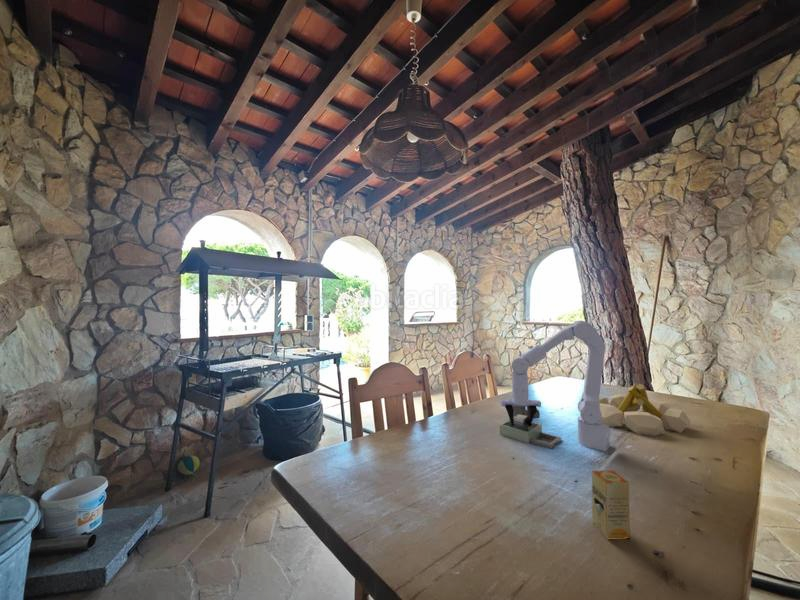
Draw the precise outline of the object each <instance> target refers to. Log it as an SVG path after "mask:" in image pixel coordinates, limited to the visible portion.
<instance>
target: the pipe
mask: <svg viewBox="0 0 800 600" xmlns="http://www.w3.org/2000/svg"><path fill="white" fill-rule="evenodd" d="M512 407H513V409H514V413H513V417H515V416H517V415H518V414H520V415H525V416H528V412H527V406H512ZM540 415H541V414H540V410H539V409H537V412H536V413H535V415H534V417H533V420H534V419H539V418H540V417H541V416H540Z"/></svg>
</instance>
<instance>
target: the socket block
mask: <svg viewBox="0 0 800 600" xmlns="http://www.w3.org/2000/svg"><path fill="white" fill-rule="evenodd" d="M529 443H530V444H534V445H536V446H539V447H541V448H546V449H550V450H554V449H555V448H556V447H558V446H559V445H560V444H561V443H563V440H562V437H561V436H557V435H553V434H550V433H547V432H543V431H542V432H540V433H539V436H538V437H537V438H535V439H533V438H530V442H529ZM529 443H528V444H529Z"/></svg>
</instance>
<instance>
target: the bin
mask: <svg viewBox="0 0 800 600" xmlns="http://www.w3.org/2000/svg"><path fill="white" fill-rule="evenodd" d="M542 427H543V425H542V423H541V424H540V423H537V422H536V423H535V422H533V421H532V424H531V426H529V425H528V432H527V431H523V430H519V429H516V428H514V426H511V424H510V419H508V420H506V421H504V422H503V423H500V424H499V435H501V436H503V437H507V438H511V439H514V440H517V441H521V442H524V443H527V444H529V442H530V438H533V439H535V438H537V437H538V436H539V433H540V432H543V428H542Z"/></svg>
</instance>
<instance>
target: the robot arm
mask: <svg viewBox="0 0 800 600" xmlns="http://www.w3.org/2000/svg"><path fill="white" fill-rule="evenodd" d="M576 338H577V339H578V340H580V341H582V343H584V345H585V346H586V347H587V348H588V354H587V362H586V370H585V372H586V373H585V379H584V387H583V388H584V389H583V392H582V396H581V399H580V401H579V402H578V403H577V408H578V409H577V410H578V411H579V413H580V415H579V416H578V417H577V440H578V441H577V442H578V444H579V445H580V446H582V447H585V448H590V449H595V450H598V451H603V452H606V451H607V450H609V448H611V429H610V426H608V425H605V424H603V423H601V418H602V414H601V411H600V399H599V397H600V393H601V384H602V377H603V370H604V369H603V368H604V362H605V361H604V360H605V354H606V343H605V342H604V341H603V339H602V337H601V335H600V334H599V332H598V329H597V328H596V327H595V326H594V325H592V324H591V323H589V322H587V321H585V320H576V321H574V322H573V323H572V324H569V325H568V326H565V327H563V328H562V329H561V330H559V331H558V332H556V334H554V335H552V336H551V337H550V338H548V339H547V340H546V341H544V343H542V344H534V345H532V344H531V345H530V346H528V349H527V350H526V351H524V352H523V353H519V354H518V357H517V356H516V357H514V359H513V360H512V362H511V369H512V373H511V374H512V377H511V381H512V383H511V385H512V386H511V387H512V388H511V389H512V392H511V393H512V394H511V395H512V396H511V397H512V398H508V399H499V400H500V401H499V402H500V403H499V404H500V406H501V407H504V408H505V409H506V412H507V416H508V418H509V419H508V420H510V424H511V426H514V423H513V422H514V421H513V413H514V409H513V407H512V406H526V410H527V412H528V425H529V426H531V424H532V422H533V420H534V419H533V417H534V415H535V413H536V412H537V410H538V408H542V401H541V400H537V399H536V400H534V399H529V377H528V371H529V368H533V367H534V366H535V365H536V364H538V363H540V362H541V361H543V360H544V359H545V358H546V357H547V353H548V352H549V351H551V350H553V349H554V348H555V347H557V346H559V345H560V344H561V343H563V342H565V341H573V340H575V339H576ZM537 407H538V408H537Z"/></svg>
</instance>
